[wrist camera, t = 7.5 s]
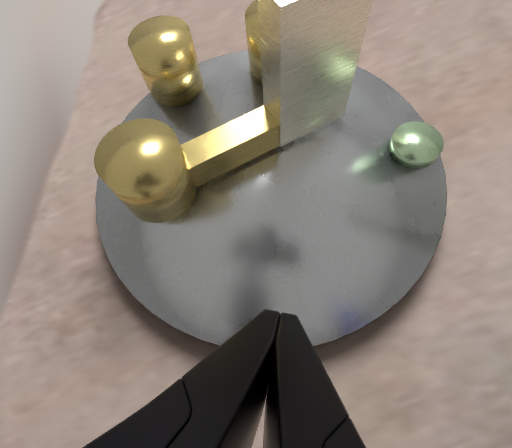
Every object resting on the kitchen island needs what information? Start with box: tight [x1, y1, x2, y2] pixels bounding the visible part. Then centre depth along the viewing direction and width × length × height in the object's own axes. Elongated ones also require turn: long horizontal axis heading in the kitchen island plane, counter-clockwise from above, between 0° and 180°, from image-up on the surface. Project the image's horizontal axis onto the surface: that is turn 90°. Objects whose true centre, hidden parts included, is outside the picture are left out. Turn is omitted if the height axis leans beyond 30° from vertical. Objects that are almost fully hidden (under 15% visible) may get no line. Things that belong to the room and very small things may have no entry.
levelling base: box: [96, 0, 447, 347], centre depth 20 cm, size 22×22×5 cm
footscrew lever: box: [94, 0, 373, 223], centre depth 17 cm, size 15×4×9 cm, turn 119°
